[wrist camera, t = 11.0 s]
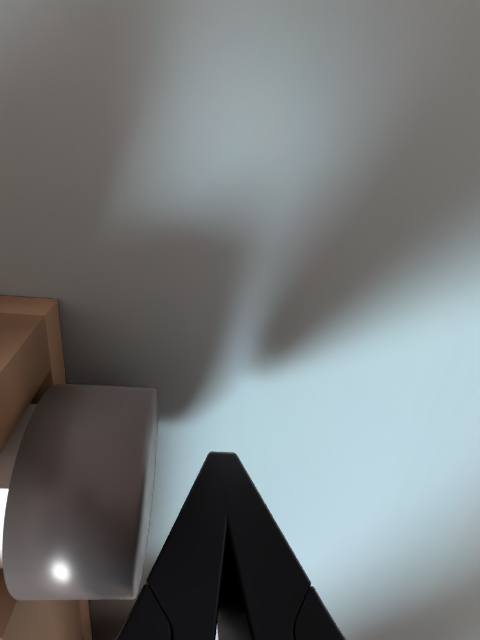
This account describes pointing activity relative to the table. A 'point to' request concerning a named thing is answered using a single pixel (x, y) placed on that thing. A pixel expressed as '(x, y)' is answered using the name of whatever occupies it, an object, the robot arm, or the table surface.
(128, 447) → the white and gray knob
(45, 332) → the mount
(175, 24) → the table surface
